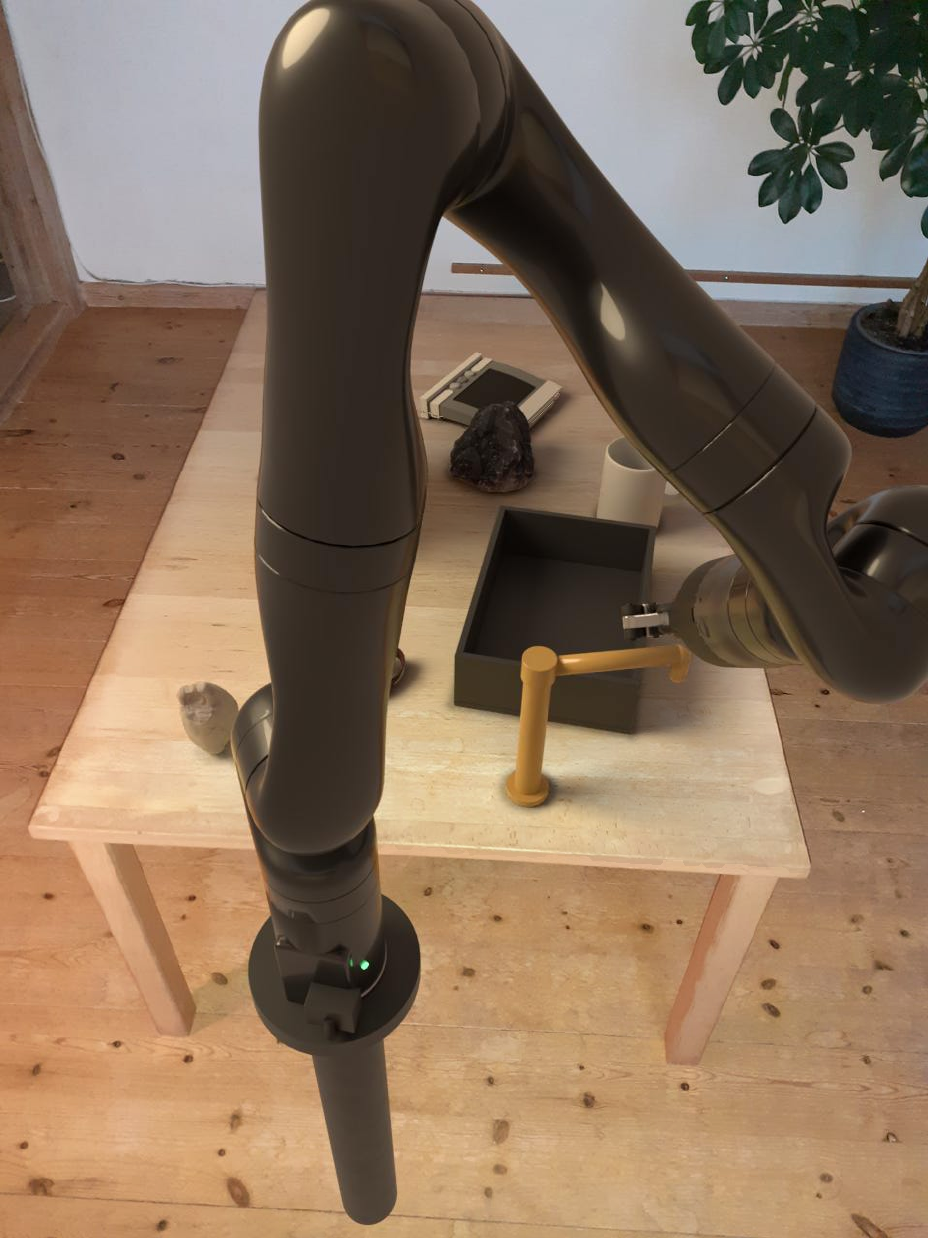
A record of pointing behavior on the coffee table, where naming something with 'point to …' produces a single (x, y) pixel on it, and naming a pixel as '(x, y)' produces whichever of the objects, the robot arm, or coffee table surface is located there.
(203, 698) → the fossil
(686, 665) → the faucet spout
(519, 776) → the faucet column
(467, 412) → the alarm clock
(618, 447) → the mug
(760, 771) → the coffee table surface
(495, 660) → the sink
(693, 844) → the coffee table surface
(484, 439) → the crystal cluster
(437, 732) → the coffee table surface
